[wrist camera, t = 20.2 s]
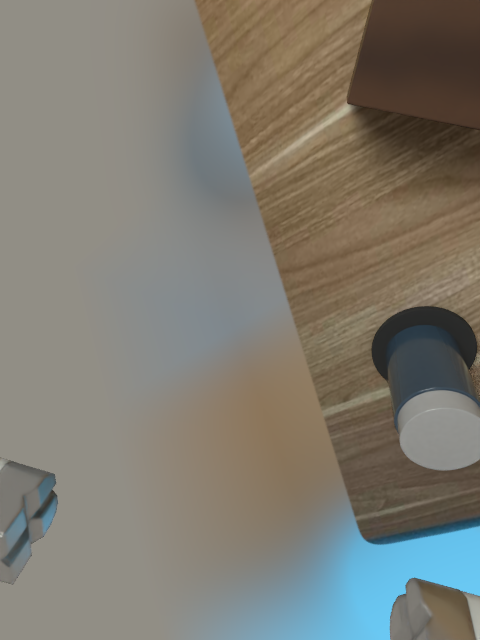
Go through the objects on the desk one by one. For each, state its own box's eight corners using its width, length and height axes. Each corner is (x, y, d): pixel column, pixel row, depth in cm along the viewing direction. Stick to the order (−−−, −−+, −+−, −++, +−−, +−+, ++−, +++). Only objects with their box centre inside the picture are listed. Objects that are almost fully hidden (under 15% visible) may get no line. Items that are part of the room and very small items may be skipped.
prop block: (377, -21, 29) (382, -35, 25) (535, 6, 28) (569, -3, 24) (346, 98, 32) (346, 103, 28) (485, 125, 32) (507, 135, 27)
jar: (384, 328, 44) (432, 291, 32) (449, 344, 43) (522, 312, 32) (360, 451, 41) (404, 460, 29) (430, 470, 41) (502, 486, 29)
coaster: (352, 354, 43) (352, 358, 43) (418, 287, 38) (419, 290, 38) (425, 402, 44) (426, 406, 44) (498, 342, 40) (500, 346, 39)
